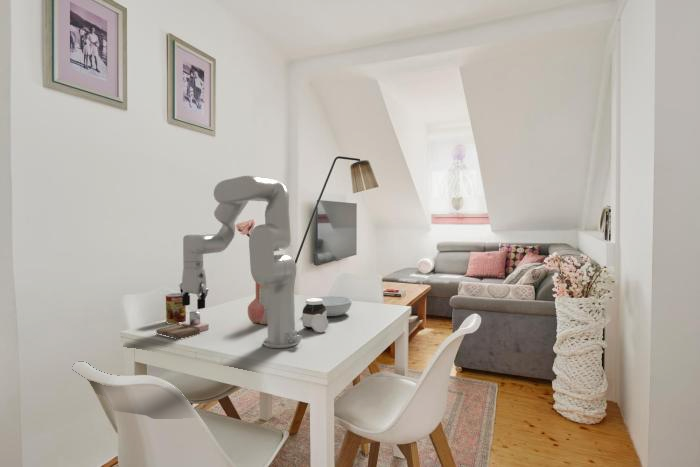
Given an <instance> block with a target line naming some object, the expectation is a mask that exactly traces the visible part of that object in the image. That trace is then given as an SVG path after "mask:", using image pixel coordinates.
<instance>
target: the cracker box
mask: <svg viewBox="0 0 700 467" xmlns="http://www.w3.org/2000/svg"><path fill="white" fill-rule="evenodd" d="M258 286H259V287H258V288H259V289H258V290H259V292H258V296H259V299H258V301H259V302H258V304H259V303H261V304H262V305H263V306H264V314H263V318H262V320H261V321H260V322H259V325H265V326H268V317H267V292H268V287H269V285H260V284H258Z"/></svg>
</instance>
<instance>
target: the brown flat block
mask: <svg viewBox="0 0 700 467" xmlns="http://www.w3.org/2000/svg"><path fill="white" fill-rule="evenodd" d="M155 331H156V333H155V334H157V333H158V334H162V335H166V336H169V337H173V338H176V339H180V340H182V339H181V338H184V339H186V338H185V337H187V338H190V337H189V336H191V337H194V336H198V335H200V334H201V332H200V329H199V328H194V327H190V326H185V325H182V324H181V323H177V324H172V325H170V326H165V327H162V328H161V327H160V328H158V329H155ZM197 334H198V335H197ZM193 335H194V336H193ZM176 339H175V340H176Z"/></svg>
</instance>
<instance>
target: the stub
mask: <svg viewBox="0 0 700 467" xmlns="http://www.w3.org/2000/svg"><path fill="white" fill-rule="evenodd" d="M181 325H185V326H190V327H194V328H199V329H200V333H201V332H203V331H207V330H209V329H210V328H209V327H210V326H209V324H208V323H205V322H204V323H203V322H201V311H200V310H192V311H189V322H186V323H185V322H183V323H181Z"/></svg>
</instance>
